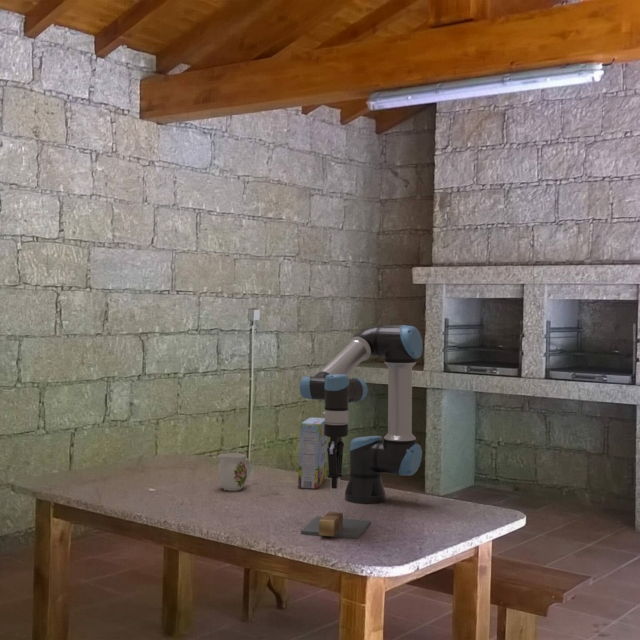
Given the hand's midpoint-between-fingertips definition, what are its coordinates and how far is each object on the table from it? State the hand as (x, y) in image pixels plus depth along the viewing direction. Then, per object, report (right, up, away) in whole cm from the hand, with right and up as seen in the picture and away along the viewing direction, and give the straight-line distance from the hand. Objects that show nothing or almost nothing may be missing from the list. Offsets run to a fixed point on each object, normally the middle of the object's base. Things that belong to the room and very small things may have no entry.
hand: (334, 498), depth 273 cm
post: (0, -7, +2) cm, 7 cm away
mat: (+1, -10, +4) cm, 11 cm away
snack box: (-8, -10, +75) cm, 76 cm away
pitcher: (-38, -10, +63) cm, 74 cm away
